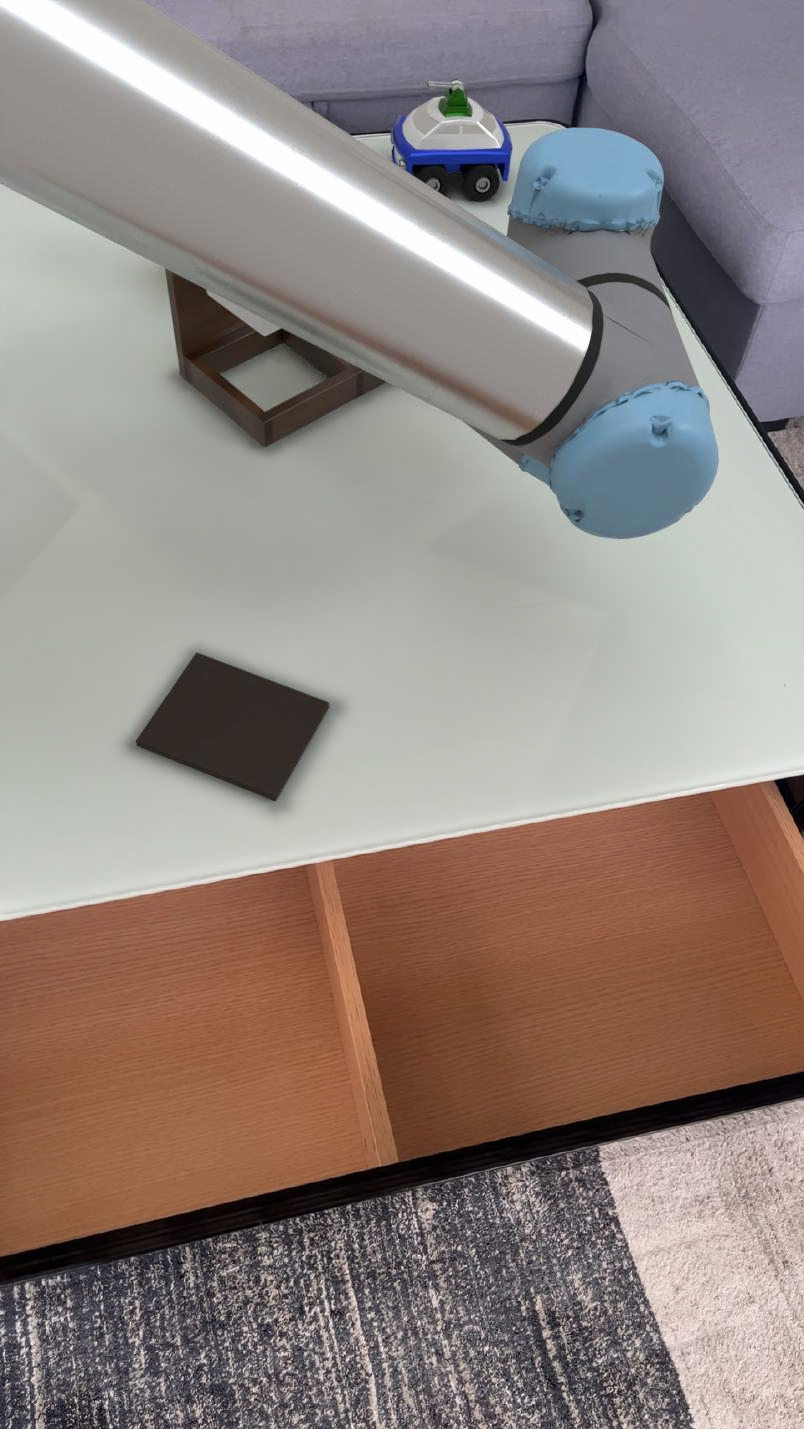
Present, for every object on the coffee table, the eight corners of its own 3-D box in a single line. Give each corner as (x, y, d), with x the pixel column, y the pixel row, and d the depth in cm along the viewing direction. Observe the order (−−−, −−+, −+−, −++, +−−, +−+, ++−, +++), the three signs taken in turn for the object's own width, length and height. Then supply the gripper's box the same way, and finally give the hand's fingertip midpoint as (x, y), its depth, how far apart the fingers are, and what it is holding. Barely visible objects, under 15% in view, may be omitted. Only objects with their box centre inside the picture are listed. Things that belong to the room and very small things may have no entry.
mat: (136, 745, 69) (135, 740, 68) (197, 657, 73) (196, 652, 73) (275, 801, 67) (275, 796, 66) (329, 707, 71) (329, 702, 71)
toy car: (385, 156, 112) (389, 59, 104) (496, 153, 113) (508, 58, 106) (397, 204, 107) (402, 107, 99) (514, 201, 108) (528, 104, 100)
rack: (445, 350, 94) (459, 221, 84) (264, 447, 85) (255, 317, 76) (359, 288, 98) (362, 159, 88) (179, 375, 90) (160, 243, 80)
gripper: (317, 438, 68) (115, 272, 77) (532, 321, 77) (328, 183, 86) (316, 338, 62) (97, 170, 71) (550, 222, 71) (328, 85, 80)
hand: (224, 177), depth 78 cm, fingers closed on medicine bottle, 7 cm apart
